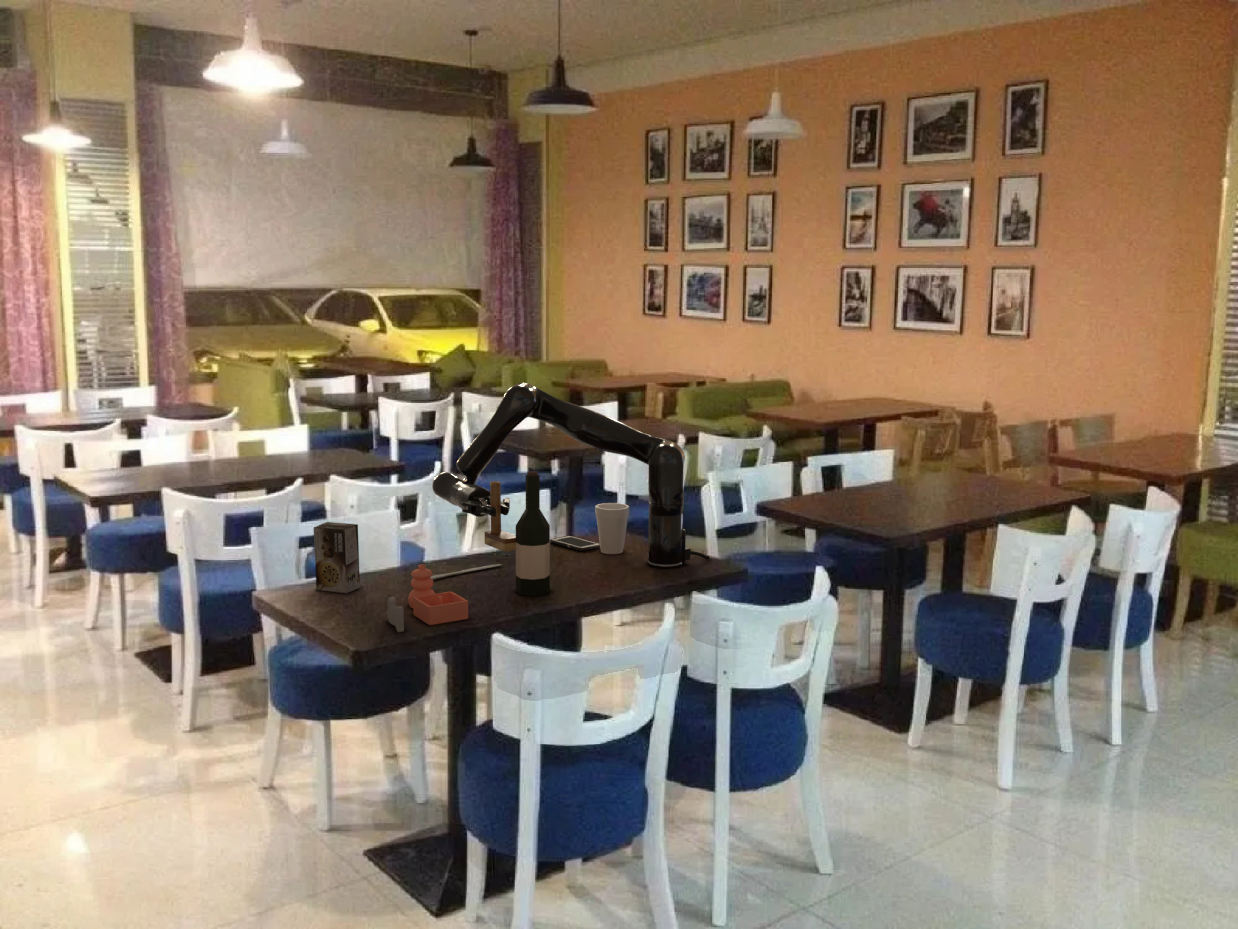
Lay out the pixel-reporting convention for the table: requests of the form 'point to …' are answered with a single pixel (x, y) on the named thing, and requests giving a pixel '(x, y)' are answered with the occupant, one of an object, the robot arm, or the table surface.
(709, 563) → the table surface
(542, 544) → the wine bottle
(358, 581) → the coffee box
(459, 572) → the butter knife
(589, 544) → the cell phone
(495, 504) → the brush
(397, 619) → the grey stepped plate
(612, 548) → the foam cup
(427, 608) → the pottery
